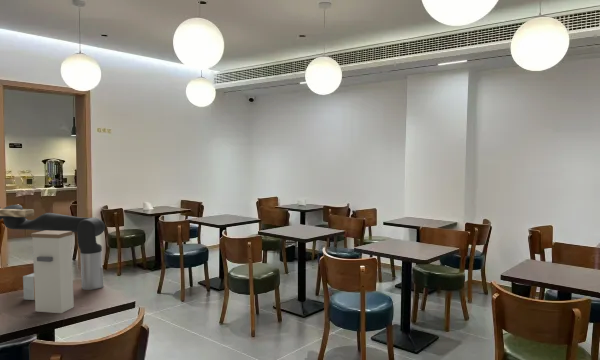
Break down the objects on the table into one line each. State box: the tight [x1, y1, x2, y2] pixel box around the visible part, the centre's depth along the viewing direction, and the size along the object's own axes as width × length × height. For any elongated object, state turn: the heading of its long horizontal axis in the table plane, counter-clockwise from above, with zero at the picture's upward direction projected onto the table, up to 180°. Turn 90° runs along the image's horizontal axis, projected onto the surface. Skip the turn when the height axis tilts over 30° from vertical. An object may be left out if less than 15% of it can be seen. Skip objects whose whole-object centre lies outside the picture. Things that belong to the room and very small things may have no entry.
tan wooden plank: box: [0, 208, 35, 218], centre depth 179 cm, size 22×5×2 cm, turn 79°
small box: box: [22, 272, 35, 301], centre depth 192 cm, size 8×6×10 cm
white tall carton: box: [30, 230, 75, 314], centre depth 176 cm, size 13×9×32 cm
